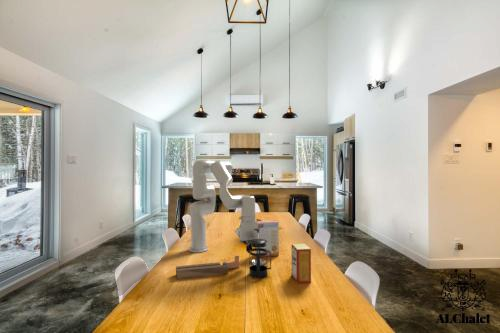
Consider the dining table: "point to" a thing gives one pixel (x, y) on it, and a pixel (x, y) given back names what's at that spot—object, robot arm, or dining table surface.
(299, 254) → the baking soda box
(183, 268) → the tongs jaw
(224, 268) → the tongs fixed jaw
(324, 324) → the dining table surface
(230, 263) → the tab
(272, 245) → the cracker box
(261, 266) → the french press
